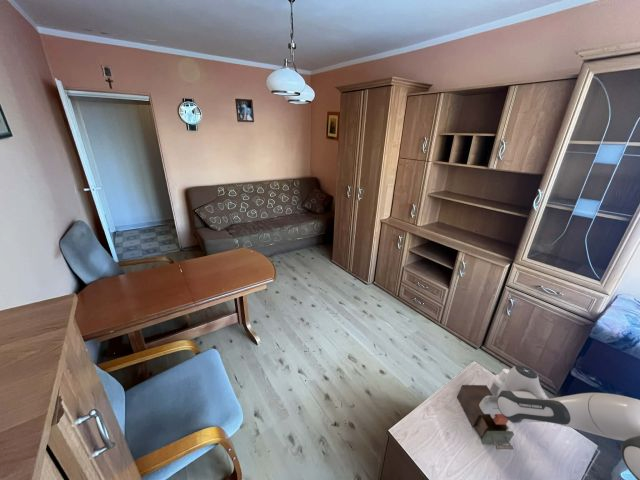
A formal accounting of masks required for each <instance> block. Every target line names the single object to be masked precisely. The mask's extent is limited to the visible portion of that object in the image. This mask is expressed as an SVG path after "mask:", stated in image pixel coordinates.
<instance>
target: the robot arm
mask: <svg viewBox="0 0 640 480" xmlns="http://www.w3.org/2000/svg"><path fill="white" fill-rule="evenodd" d="M509 370H510V371H509V372H508V374H507V376H506V378H505V382H503V383H502V385H501V387H500V389H499V390H498V396H486V397H484V398H483V400H482V401H481V402H480V404H479V406H480V409H481V410H482V412H483V413H484V414H490V416H491V417H492V419H493V418H496V417H497V416H496V414H502V415H503V416H504V417H505V418H506V419H508V422H510V423H512V424H519V423H550V424H556V425H559V426H563V427H567V428H570V429H573V430H578V431H581V432H585V433H589V434H592V435H596V436H599V437H604V438H607V439H612V440H616V441H622V443H621V445H620V455H621V459H622V461H623V463H624V465H625V466H626V468H627V469H628V471H629V473H630V474H631V475H632V476H633V477H634V478H635V479H636V480H640V399H638V398H633V397H629V396H625V395H621V394H614V393H608V392H607V393H606V392H581V393H576V394H570V395H564V396H558V397H550V396H549V395H548V394H547V393H546V392H545V391H544V389H543V387H542V385H541V382H540V378H539V375H538V374H537V372H536V371H534V370H533V369H532V368H530V367H528V366H525V365H514V366H513V367H511V368H510V369H509Z"/></svg>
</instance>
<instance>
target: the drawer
mask: <svg viewBox="0 0 640 480" xmlns="http://www.w3.org/2000/svg"><path fill="white" fill-rule="evenodd" d="M475 426H476V427H475V428H476V430H477V432H478V434H479V436H480V438H482V439H481V444H482V445H494V447H495V449H496V450H502V451H503V450H512V451H514V449H515V448H514V446H513V445H512V444H511V442H510V441H511V440H512V438H513V437H514V435H515V433H514V431H513V430H509V426H508V425H507V423H506V424H495V422H494V420H493V419H492V417H491V416H479V418H478V420H477V422H476V424H475Z"/></svg>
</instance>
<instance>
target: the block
mask: <svg viewBox="0 0 640 480" xmlns="http://www.w3.org/2000/svg"><path fill="white" fill-rule="evenodd" d="M496 416H497V417H496V418H493V420H494V422H495V424H507V423H508V422H509V420H508V419H506V418H505V417H504V416H503V415H502V414H496Z"/></svg>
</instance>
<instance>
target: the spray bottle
mask: <svg viewBox="0 0 640 480" xmlns="http://www.w3.org/2000/svg"><path fill="white" fill-rule="evenodd" d="M510 370H511V369H508V368H503V369H502V370H501V371H500V373H499V374H495V375H494V377H493V379H492V380H491V383H490V384H489V386H488V388H489V390H490V392H491V393H492V395H493V396H498V390H499V389H500V387H501V385H502V383H503V382H505V378H506V376H507V374H508V372H509V371H510Z"/></svg>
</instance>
